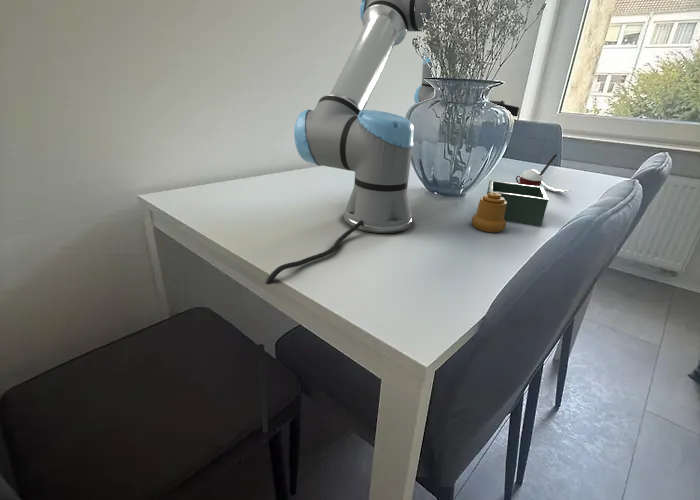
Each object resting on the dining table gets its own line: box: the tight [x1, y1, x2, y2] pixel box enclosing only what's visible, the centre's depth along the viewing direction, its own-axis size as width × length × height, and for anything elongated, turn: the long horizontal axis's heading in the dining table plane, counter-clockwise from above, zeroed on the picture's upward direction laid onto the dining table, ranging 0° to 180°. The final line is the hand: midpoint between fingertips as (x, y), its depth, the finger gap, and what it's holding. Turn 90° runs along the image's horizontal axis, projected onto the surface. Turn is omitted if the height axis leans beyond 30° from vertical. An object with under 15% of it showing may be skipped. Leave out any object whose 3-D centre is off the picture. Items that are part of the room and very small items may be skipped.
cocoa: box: [515, 154, 558, 187], centre depth 120 cm, size 10×6×12 cm, turn 23°
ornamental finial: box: [471, 192, 507, 234], centre depth 88 cm, size 8×8×8 cm
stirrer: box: [541, 181, 573, 193], centre depth 126 cm, size 20×4×5 cm
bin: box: [486, 179, 549, 227], centre depth 98 cm, size 12×13×7 cm
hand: (503, 115), depth 118 cm, fingers open, 13 cm apart
